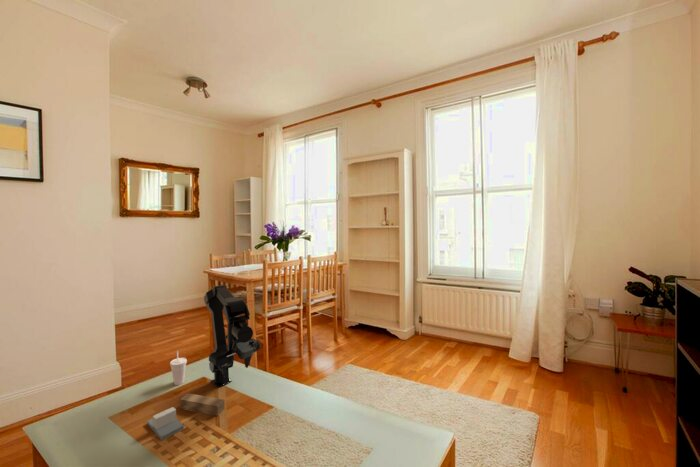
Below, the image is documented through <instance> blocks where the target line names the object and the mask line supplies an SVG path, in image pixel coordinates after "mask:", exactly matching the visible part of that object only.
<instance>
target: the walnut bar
mask: <svg viewBox="0 0 700 467" xmlns="http://www.w3.org/2000/svg"><path fill="white" fill-rule="evenodd" d="M179 402H180V404H179V406H180V407H179V408H180V410H186V411H190V412H195V413H201V414H206V415H211V416H217V417H218V416H219V415H220V414H222V412H223V411H224V410H225V409H226V407H225V399H223V398H217V397H212V396H205V395H200V394H194V393H189V392H188V393H186V394H185V395H184V396H182V397H181V398H180V399H179Z"/></svg>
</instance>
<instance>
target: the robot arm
mask: <svg viewBox="0 0 700 467" xmlns="http://www.w3.org/2000/svg"><path fill="white" fill-rule="evenodd" d="M203 299H204V300H203V301H204V304H205V305H206V308H207V310H208V311H209V312H210V313H211V320H212V321H211V322H212V330H213V341H214V348H213V351H212V352H211V353H209V356H208V362H209V363H208V364H209V370H210V371H211V372H212V374H213V376H214V377H213V379H211V380H210V383H212V385H214V386H216V387H218V388H220V387H222V386H224V385H223V384H225V385H227V384H228V382H229V378H230V376H229V375H230V373H229V372H230V371H229V369H230V368H233V367H234V362H235V356H234V355H237V357H238V358H239V359H240V360H243V361H244V366H245V368H246V369H248V368H249V365H250V362H251V359H252V357H253V355H254V354H255V353H256V352H258V350H260V349H261V343H260V341H259V340H256V339H254V338H253V336H254V331H253V328H252V327H250V326H249V324H248V322H247V321H249V320H250V319H251V318H250V315H251V314H250V311H249V307H248V305H247V302H245V301H244V300H243V299H242V298H241V297H235V296H234V294H232V292H231V291H229V290H228V287H227V285H225V284H221V285H216V286H212V289H210V290H208V291H207V292H206V293H205V294H204V297H203ZM224 317H225V319H224ZM225 320H226V322H227V324H226V325H227V329H225ZM226 330H227V335H226ZM226 383H227V384H226ZM229 383H230V382H229Z"/></svg>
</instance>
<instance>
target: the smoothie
mask: <svg viewBox="0 0 700 467" xmlns="http://www.w3.org/2000/svg"><path fill="white" fill-rule="evenodd" d="M187 363H188V360H187V358H186V357H179V350H176V358H174V359H172V360H171V361H170V362H169V366H170V368H171V373H172V379H173V384H174V386H180V385H182V384H184V383H185V375H186V368H187V367H186V366H187Z"/></svg>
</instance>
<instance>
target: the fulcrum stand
mask: <svg viewBox="0 0 700 467" xmlns="http://www.w3.org/2000/svg"><path fill="white" fill-rule="evenodd" d="M146 424H147V426H150V427H149V428H150V429H151V430H152V431H153V432H154V433H155V435H156V436H157V437H158V438H159V440H160V441H164V440H165V439H167V438H170V437H171V436H173V435H175V434H176V433H179V432H181V431H182V430H185V426H184V425H183V423H182V422H181V421H179V419H177V409H176V408H175V407H174V406H172V407H170V408H167V409H165V410H163V411H161V412H159V413H157V414H154V415H152V418H150V419H148V420H146Z"/></svg>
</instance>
